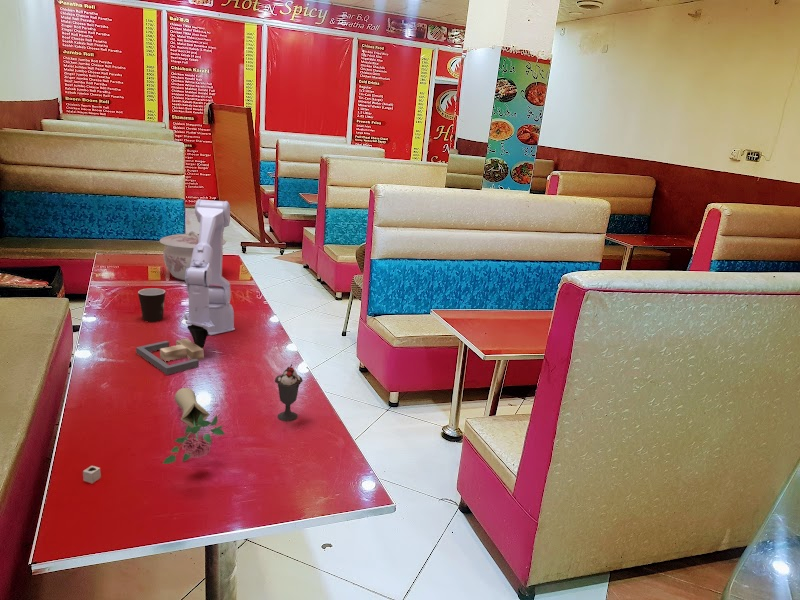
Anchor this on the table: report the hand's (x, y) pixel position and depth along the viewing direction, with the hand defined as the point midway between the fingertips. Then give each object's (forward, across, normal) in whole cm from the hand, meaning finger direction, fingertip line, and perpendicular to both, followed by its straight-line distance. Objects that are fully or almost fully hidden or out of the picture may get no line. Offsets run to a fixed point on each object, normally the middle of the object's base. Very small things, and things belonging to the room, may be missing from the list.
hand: (199, 347), depth 174 cm
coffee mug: (+2, -36, +3) cm, 36 cm away
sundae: (+2, +49, -4) cm, 49 cm away
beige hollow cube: (+2, +45, -48) cm, 66 cm away
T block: (+1, 0, -6) cm, 7 cm away
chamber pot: (+2, -77, +40) cm, 87 cm away
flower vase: (+2, +44, -26) cm, 51 cm away
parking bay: (+1, 0, -10) cm, 11 cm away
